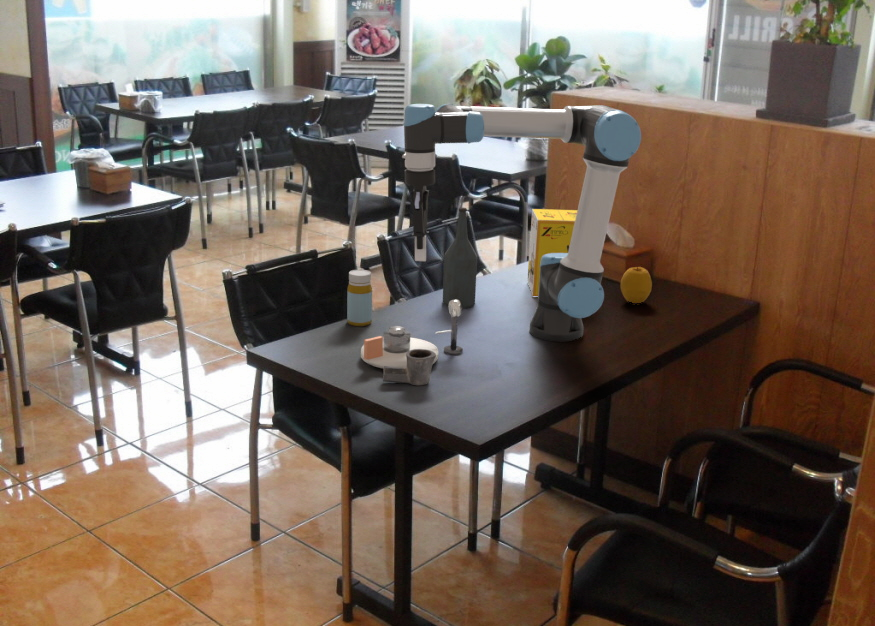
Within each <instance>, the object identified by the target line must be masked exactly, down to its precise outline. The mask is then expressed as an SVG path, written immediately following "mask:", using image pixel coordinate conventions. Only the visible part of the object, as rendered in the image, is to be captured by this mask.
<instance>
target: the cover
mask: <svg viewBox="0 0 875 626" xmlns="http://www.w3.org/2000/svg"><path fill="white" fill-rule="evenodd" d="M382 335H383V336H382V337H383V349H384V350H385V351H386V352H389V353H405V352H408V351H409V350H410V338H411V332H409V331H408V330H406V329H405V327H403V326H400V325H394V326H389V330H386V331H384V332H383V334H382Z"/></svg>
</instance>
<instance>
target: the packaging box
mask: <svg viewBox="0 0 875 626" xmlns="http://www.w3.org/2000/svg"><path fill="white" fill-rule="evenodd" d="M577 210H578V209H577ZM577 210H576V209H551V208H550V209H549V208H548V209H547V208H531V220H530V221H531V223H530V224H531V225H530V235H529V236H530V238H529V239H530V240H529V251H528V252H529V253H528V266H527V267H528V268H527V281H528V283H527V285H528V284H529V286H528V288H529V287H530V289H529V291H530V290H531V291H530V294H531V293H532V294H531V297H532V296H538V291H539V276H540V264H541V258H542V256H543V255H545V254H550V253H568V251H569V246H570V242H571V237H572V233H573V228H574V224H575V219H576V215H577ZM527 281H526V282H527Z"/></svg>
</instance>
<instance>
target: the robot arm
mask: <svg viewBox="0 0 875 626" xmlns="http://www.w3.org/2000/svg"><path fill="white" fill-rule="evenodd" d="M403 117H404V119H403V137H404V138H403V139H404V140H403V141H404V153H403V154H402V156H401V158H402V159H405V160H404V167H405V168H406V169H404V184H405V185H407V186H409V187H413V190H412V192H411V193H410V194H411V195H410V198H411V207H412V226H413V227H412V228H413V233H411V237H414V261H415V262H426V261H427V235H429V234H430V231H427V230H428V207H429V202H428V201H429V196H430V194H429V193H430V192H429V191H430V190H427V187H429V186H433V185H435V184H436V170H435V169H434V168H435V167H436V144H439V145H440V144H472V143H479V142H481V141H482V140H483V139H484V137H494V138H495V137H499V138H501V137H502V138H522V139H523V138H526V139H527V138H528V139H529V138H530V139H549V140H550V139H551V140H554V139H555V140H561V141H562V142H563V143H564V144H574V145H580V146H584V151H583V156H582V160H583V162H584V163H585V165H586V169H585V175H584V179H583V184H582V188H581V193H580V198H579V202H578V207H577V215H576V219H575V224H574V228H573V233H572V237H571V242H570V246H569V251H568V253H550V254H545V255H543V256H542V258H541V264H540V276H539V291H538V298H537V305H536V308H535V311H534V313H533V315H532V318H531V320H530V323H529V333H530V335H532V336H534V337H535V338H538V339H541V340H545V341H550V342H558V343H559V342H572V340H574V341H576V340H575V339H577V340H579V339H578V338H580V337H581V338H583V336H584V324H583V319H584V318H588V317H590V316H591V315H592V316H593V314H595V313H596V312H597V311H598V310H599V309H601V307H602V305H603V302H604V300H605V291H604V288H603V286H602V279H603V274H604V269H605V268H604V267H603V265H602V263H601V259H602V254H603V249H604V245H605V241H606V235H607V231H608V228H609V224H610V218H611V214H612V209H613V206H614V201H615V197H616V193H617V188H618V183H619V179H620V174H621V173H622V172H624V171H625V170H626V169H628V167H629V164H630V163H629V162H630V159H631V157H632V156H634V155H635V154H636V153H637V151H638V149H639V148H640V145H641V142H642V133H641V132H642V131H641V127H640V125H639V124H638V121H636V119H635V118H634V117H633V116H632V115H630V114H629V113H628V112H626V111H623V110H620V109H617V108H613V107H611V106H608V105H602V104H598V105H596V104H595V105H594V104H593V105H566V106H564V108H563V109H552V108H551V109H550V108H523V107H520V108H519V107H502V106H501V107H497V106H496V107H495V106H494V107H493V106H471V105H470V106H467V105H455V104H453V103H444V104H441V105H440V106H438V107H437V108H436V107H435V105H433V104H429V103H414V104H413V103H412V104H408V105H407V106H406V107H405V108H404V116H403ZM581 338H580V339H581Z"/></svg>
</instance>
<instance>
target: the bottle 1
mask: <svg viewBox="0 0 875 626" xmlns="http://www.w3.org/2000/svg"><path fill="white" fill-rule="evenodd" d="M348 280H349V281H348V285H347V292H346V293H347V296H346V297H347V298H346V301H347V303H346V306H347V307H346V308H347V310H346V311H347V315H346V319H347V323H348V324H349V325H350V326H353V327H367V326H370V325H371V323H372V321H373V286H372V282H371V280H372V272H371V271H370V270H366V269H352V270H350V271H349V272H348Z"/></svg>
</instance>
